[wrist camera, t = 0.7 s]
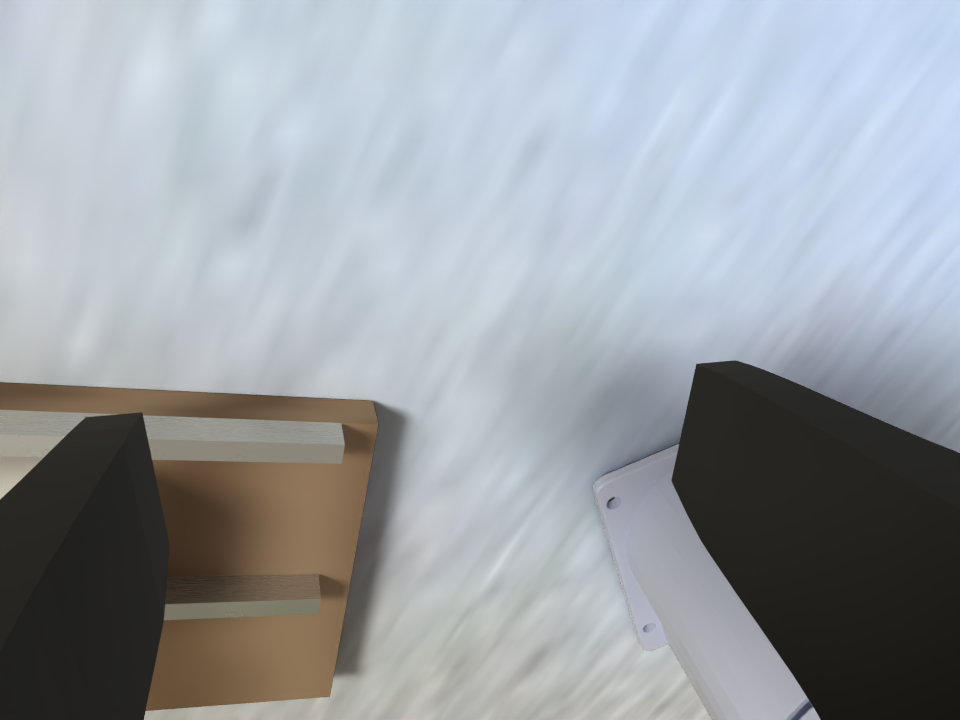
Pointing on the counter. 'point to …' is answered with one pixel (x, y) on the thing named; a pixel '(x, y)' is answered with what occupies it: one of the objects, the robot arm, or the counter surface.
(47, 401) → the gauge bed
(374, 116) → the counter surface
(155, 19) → the counter surface
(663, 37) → the counter surface
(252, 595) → the anvil and rails
